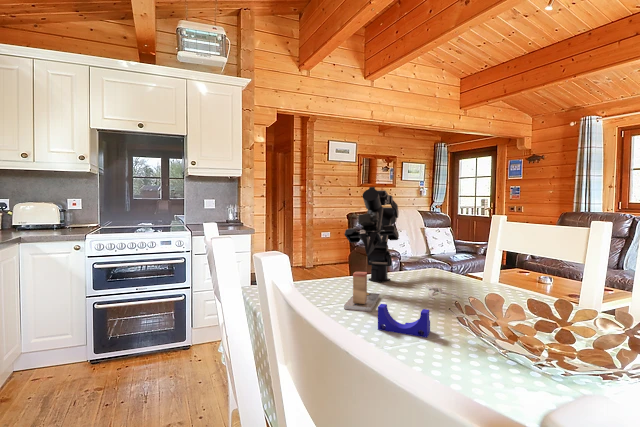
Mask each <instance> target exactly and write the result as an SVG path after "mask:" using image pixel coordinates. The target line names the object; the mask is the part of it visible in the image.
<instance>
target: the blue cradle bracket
mask: <svg viewBox="0 0 640 427" xmlns="http://www.w3.org/2000/svg"><path fill="white" fill-rule="evenodd" d="M377 330H379V331H383V332H384V331H385V332H390V333H395V334H396V333H398V334H402V335H409V336H415V337H422V338H428V337H429V334H430V333H431V319H430V309H426V308H422V310H421V311H420V315H419V318H418V319H417V320H415V321H413V322H405V323H401V322H398V321H397V320H396V319H394V318H393V317H392V315H391V314H390V312H389V309H388V304H385V303H380V304H379V305H378V306H377Z"/></svg>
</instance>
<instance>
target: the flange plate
mask: <svg viewBox="0 0 640 427" xmlns="http://www.w3.org/2000/svg"><path fill="white" fill-rule="evenodd" d="M379 297H380V293H374V292H373V293H372V292H367V301H366V303H365V304H359V303H353V295H351V297H350V298H349V299H348V300H347V301H346V302H345V303H344V305H343V310H351V311H361V312H369V313H370V312H372V311H373V310H374V307H375V306H376V304H377V303H378V300H380V298H381V297H380V298H379ZM376 302H377V303H376ZM374 305H375V306H374Z"/></svg>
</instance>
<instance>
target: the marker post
mask: <svg viewBox="0 0 640 427" xmlns="http://www.w3.org/2000/svg"><path fill="white" fill-rule="evenodd" d="M367 293H368V272H367V271H355V272H353V274H352V296H353V303H359V304H365V303H366V301H367Z"/></svg>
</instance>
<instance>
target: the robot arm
mask: <svg viewBox="0 0 640 427" xmlns="http://www.w3.org/2000/svg"><path fill="white" fill-rule="evenodd" d="M362 199H363V203H364V206H365V208H366V209H367V211H366V213H363V214H362V213H361V214H358V216H357V217H358V219H357V221H358V222H357V224H358V225H360V228H361V229H360V230H359V231H358V230H357V228H356V227H355V228H347V229H345V231H344V236H345V238H346V239H347V241H348V242H349V243H350V244H351V243H352V244H355V243H359V242H360V241H361V242H362V243H363V245H364V250H365V254H366V257H367V265H368V266H371V269H370V278H367V281H371V282H376V283H384V282H389V281H391V280H392V279H391V278H388V269H389V267H392V266H393V259H392V254H391V252H390V250H389V245H388V240H389V241H398V240H399V236H400V235H399V231H398V229H397V227H396V226H395V225H394V224H395V223H396V222H397V219H398V218H399V213H400V212H399V205H398V204H397V203H396V201H395V200H394V197H393V195H390V194H389V193H388V192H387V191H386V190H381V189H379V190H377V189H376V187H375V186H369V187H368V189H367V190H365V191H364V192H363V193H362ZM386 205H390V207H388V206H387V207H385V206H386Z"/></svg>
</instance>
